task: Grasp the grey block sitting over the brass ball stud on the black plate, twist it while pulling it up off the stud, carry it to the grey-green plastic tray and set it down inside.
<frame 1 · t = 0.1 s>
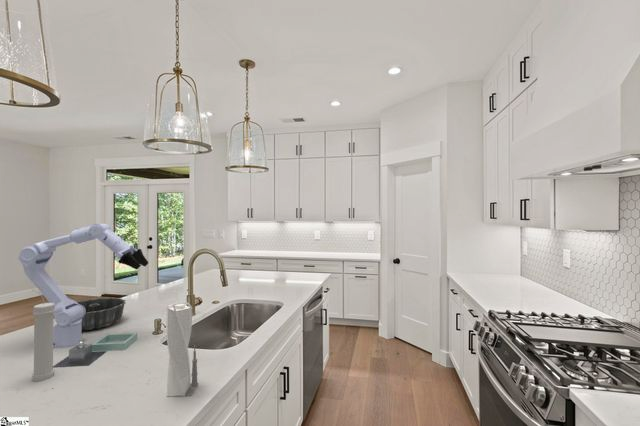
hand: (142, 266, 133), 32 cm above the worktop, tool tilted 50°, fingers open, 7 cm apart
grey block: (80, 358, 115), point 1 cm above the worktop, touching stud block
stud block: (80, 361, 115), on the worktop
bundt pan: (94, 325, 155), on the worktop
pipe: (42, 381, 102), on the worktop
skyscraper: (180, 393, 96), on the worktop
bin: (115, 347, 128), on the worktop
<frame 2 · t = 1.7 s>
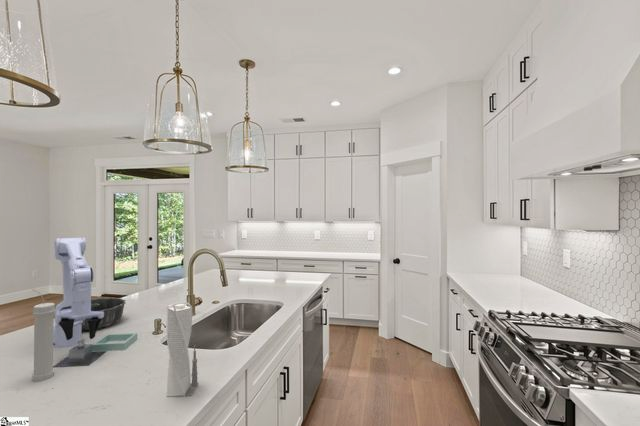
hand: (81, 338, 115), 8 cm above the worktop, tool pointing down, fingers open, 7 cm apart
nothing on the worktop moved.
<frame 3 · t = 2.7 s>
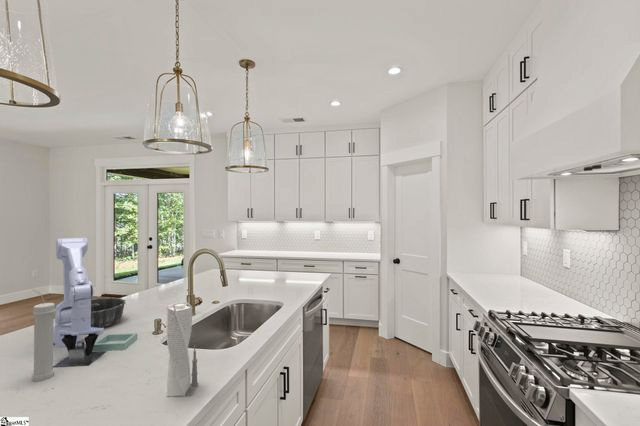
hand: (80, 355, 115), 2 cm above the worktop, tool pointing down, fingers closed on grey block, 5 cm apart
grey block: (80, 358, 115), point 1 cm above the worktop, touching gripper, stud block
everything else where it was.
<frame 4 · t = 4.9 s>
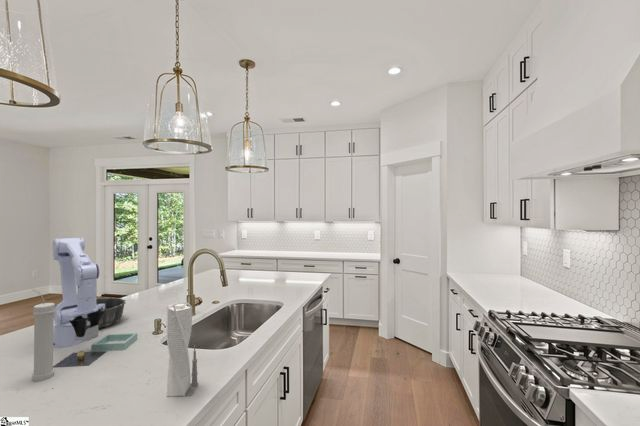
hand: (86, 333, 117), 9 cm above the worktop, tool pointing down, fingers closed on grey block, 5 cm apart
grey block: (86, 338, 117), point 8 cm above the worktop, touching gripper
everything else where it was.
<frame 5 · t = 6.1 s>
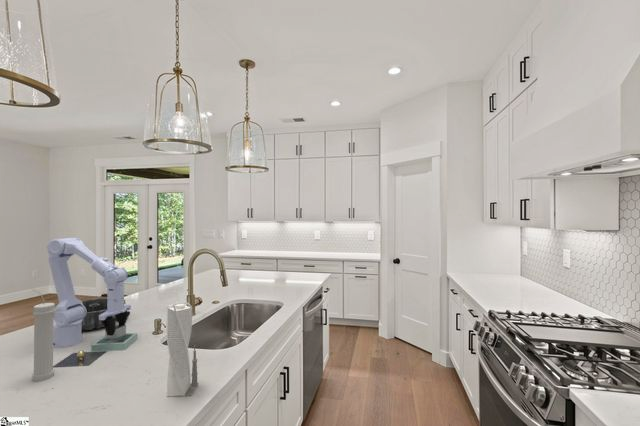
hand: (115, 332, 128), 6 cm above the worktop, tool pointing down, fingers closed on grey block, 5 cm apart
grey block: (115, 337, 128), point 4 cm above the worktop, touching gripper
everything else where it was.
when the fingers open (4 cm above the worktop, at t = 7.0 s): grey block drops 1 cm, resting on bin.
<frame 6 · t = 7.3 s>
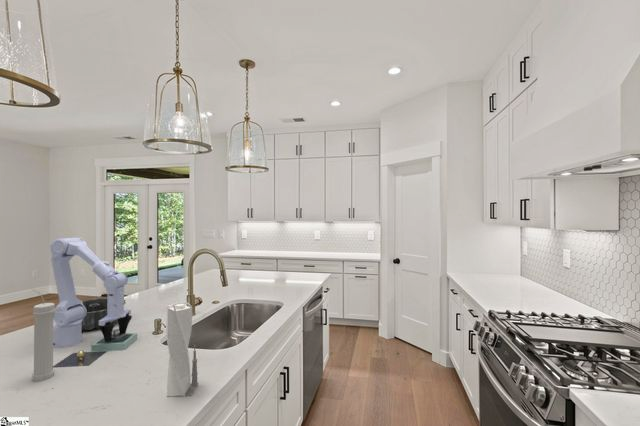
hand: (115, 337, 128), 4 cm above the worktop, tool pointing down, fingers open, 7 cm apart
grey block: (115, 345, 128), point 1 cm above the worktop, touching bin
everything else where it was.
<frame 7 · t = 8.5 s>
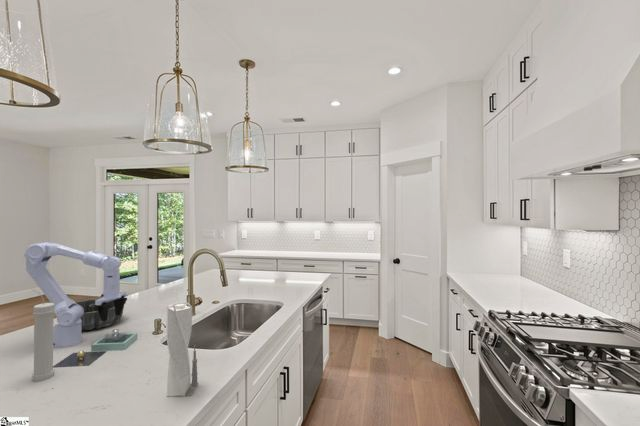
hand: (111, 317, 134), 10 cm above the worktop, tool pointing down, fingers open, 7 cm apart
nothing on the worktop moved.
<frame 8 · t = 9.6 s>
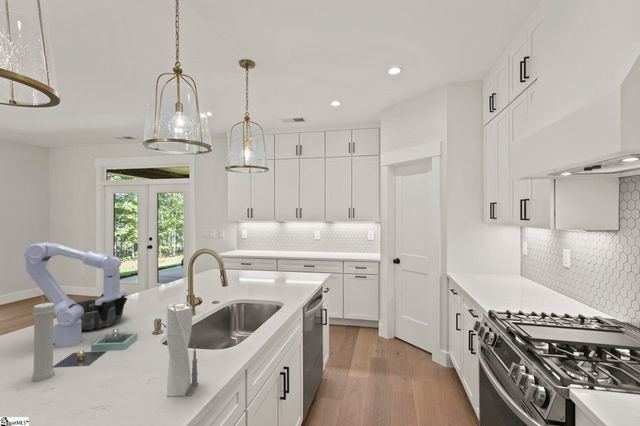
hand: (111, 317, 134), 10 cm above the worktop, tool pointing down, fingers open, 7 cm apart
nothing on the worktop moved.
at the end: grey block inside the target area on the bin (0.1 cm from its centre), point 0.6 cm above the bin's base; grey block touching bin; the gripper is holding nothing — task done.
